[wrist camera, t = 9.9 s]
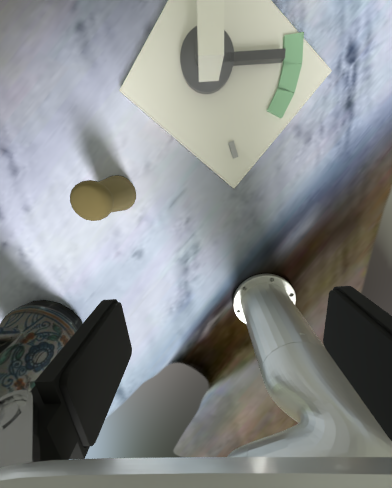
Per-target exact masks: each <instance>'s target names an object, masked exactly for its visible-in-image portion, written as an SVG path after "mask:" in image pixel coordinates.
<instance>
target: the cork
mask: <svg viewBox="0 0 392 488" xmlns="http://www.w3.org/2000/svg"><path fill="white" fill-rule="evenodd" d="M135 200H136V192H135V188H134V186H133V184H132V183H131V182H130V181H129V180H128V179H127V178H125V177H123V176H118V175H115V176H111V177H108V178H106V179H104V180H102V181H99V182H97V181H91V180H89V181H82V182H80V183H79V184H77V185H75V187H74V188H73V189H72V191H71V194H70V203H71V205H72V208H73V209H74V211H75V212H76V213H77V214H78V215H79V216H80V217H82V218H84V219H86V220H91V221H96V220H101V219H103V218H105V217H107V216H108V215H109V214H110V213H111V212H116V211H122V210H127V209H129V208H130V207H131V206H132V205H133V204H134V202H135Z"/></svg>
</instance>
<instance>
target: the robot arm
mask: <svg viewBox="0 0 392 488" xmlns="http://www.w3.org/2000/svg"><path fill="white" fill-rule="evenodd" d="M295 303H296V295H295V292H294V289H293V288H292V286H291V285H290V284H289V282H288V281H286V280H285V279H284V278H282V277H280V276H278V275H274V274H259V275H255V276H253V277H250V278H248V279H247V280H245V281H244V282H243V283H242V284H240V285H239V287H238V288H237V289H236V291H235V294H234V297H233V307H234V311H235V313H236V315H237V317H238V318H239V319H240V320H241V321H242V322H244V323H245V324H246V325H247V328H248V331H249V335H250V338H251V341H252V344H253V348H254V351H255V354H256V358H257V361H258V364H259V368H260V371H261V374H262V377H263V381H264V384H265V387H266V389H267V391H268V393H269V395H270V396H271V398H272V399H273V401H274V402H275V403H276V404H277V405H278V406H279V407H280V408H281V409H282V410H283V411H284V412H285V413H286V414H288V415H289V416H290V417H291V418H293V419H294V420H295V421H297V422H298V423H299V424H297V425H295V426H293V427H291V428H288V429H287V430H285V431H282V432H279V433H276V434H273V435H270V436H267V437H265V438H262V439H259V440H256V441H253V442H251V443H248V444H245V445H243V446H241V447H239V448H237V449H235V450H234V451H232V452H231V453H230V454H229V455H228V457H190V458H103V459H85V456H86V454H87V452H88V449H89V447H90V446H93V445H94V443H95V442H96V439H97V437H98V435H99V432H100V430H101V428H102V425H103V423H104V420H105V418H106V416H107V413H108V411H109V408H110V406H111V403H112V401H113V399H114V396H115V394H116V391H117V389H118V386H119V384H120V382H121V379H122V377H123V374H124V372H125V370H126V367H127V365H128V362H129V360H130V357H131V354H132V347H131V343H130V339H129V335H128V330H127V326H126V322H125V318H124V313H123V309H122V305H121V303H120V302H118V301H117V300H116V299H113V300H103V301H101V303H100V304H99V305H98V306H97V307H96V309H95V310H94V311H93V312H92V313H91V314H90V316H89V317H88V318H87V319H86V320H85V322H84V323H83V324H82V325H81V326H80V328H79V329H78V330H77V331H76V332H75V334H74V335H73V336H72V337H71V338H70V340H69V341H68V342H67V343H66V344H65V346H64V347H63V348H62V349H61V350H60V352H59V353H58V354H57V355H56V356H55V358H54V359H53V360H52V361H51V362H50V364H49V365H48V366H47V367H46V368H45V370H44V371H43V372H42V373H41V374H40V376H39V377H38V378H37V379H36V380H35V382H34V383H35V386H34V388H33V389H32V390H31V391H28V390H17V391H13V392H11V393H8V394H6V395H4V396H2V397H0V488H392V316H391V315H389V314H388V313H387V312H385V311H384V310H382V309H381V308H380V307H379V306H377V305H376V304H374V303H373V302H372V301H370V300H369V299H368V298H366V297H365V296H364V295H362V294H361V293H360V292H358V291H357V290H356V289H354V288H353V287H351V286H341V287H334V288H333V290H331V291H330V292H329V298H328V306H327V314H326V322H325V330H324V338H323V343H324V345H323V344H322V343H321V341H320V340H319V338H318V337H317V335H316V334H315V333H314V331H313V330H312V328H311V327H310V326H309V324H308V323H307V321H306V320H305V318H304V317H303V316H302V314H301V313H300V311H299V310H298V309H297V307H296V306H295ZM324 346H325V347H324ZM69 459H73V460H69Z"/></svg>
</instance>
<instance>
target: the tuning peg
mask: <svg viewBox="0 0 392 488" xmlns="http://www.w3.org/2000/svg"><path fill="white" fill-rule="evenodd" d="M196 9H197V26H195V27H194V28H193V29H192V30H191V31H190V32H189V33H188V34H187V36H186V37H185V39H184V41H183V44H182V47H181V52H180V63H181V69H182V73H183V76H184V79H185V81H186V82H187V84H188V85H189V86H190V87H191V88H192V89H193V90H194V91H196V92H198V93H201V94H212V93H215V92H217V91H218V90H220V89H221V88H222V87H223V86H224V85H225V84H226V82H227V81H228V79H229V77H230V74H231V71H232V68H233V66H238V65H254V64H271V63H282V61H283V60H284V59H285V51H286V48H284V49H268V50H252V51H236V52H234V48H233V44H232V41H231V39H230V37H229V35H228V34H227V32H226V31H225V30H224V0H196Z"/></svg>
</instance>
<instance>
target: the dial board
mask: <svg viewBox="0 0 392 488" xmlns="http://www.w3.org/2000/svg"><path fill="white" fill-rule="evenodd" d="M195 26H197V9H196V0H168V2H167V3H166V5H165V7H164V9H163V11H162V13H161V14H160V16H159V18H158V20H157V22H156V24H155V26H154V27H153V29H152V31H151V33H150V35H149V37H148V38H147V40H146V42H145V44H144V46H143V48H142V50H141V51H140V53H139V55H138V57H137V59H136V61H135V62H134V64H133V66H132V68H131V70H130V72H129V74H128V75H127V77H126V79H125V81H124V83H123V85H122V86H121V88H120V90H119V91H120V92H121V93H122V94H123V95H124V96H126V97H127V98H128V99H129V100H130V101H131V102H133V103H134V104H135V105H136V106H137V107H138V108H140V109H141V110H142V111H143V112H144V113H145V114H147V115H148V116H149V117H150V118H151V119H152V120H154V121H155V122H156V123H157V124H158V125H159V126H161V127H162V128H163V129H164V130H165V131H167V132H168V133H169V134H170V135H171V136H172V137H174V138H175V139H176V140H177V141H178V142H179V143H181V144H182V145H183V146H184V147H185V148H186V149H188V150H189V151H190V152H191V153H192V154H193V155H195V156H196V157H197V158H198V159H199V160H200V161H202V162H203V163H204V164H205V165H206V166H207V167H209V168H210V169H211V170H212V171H213V172H214V173H216V174H217V175H218V176H219V177H220V178H222V179H223V180H224V181H225V182H226V183H227V184H229V185H230V186H231V187H232V188H233V189H234V188H235V187H236V186H237V185H238V184H239V182H240V181H241V180H242V179H243V178H244V176H245V175H246V174H247V173H248V172H249V170H250V169H251V168H252V167H253V165H254V164H255V163H256V162H257V161H258V159H259V158H260V157H261V156H262V155H263V153H264V152H265V151H266V150H267V149H268V147H269V146H270V145H271V144H272V143H273V141H274V140H275V139H276V138H277V136H278V135H279V134H280V133H281V132H282V130H283V129H284V128H285V127H286V126H287V124H288V123H289V122H290V121H291V120H292V118H293V117H294V116H295V115H296V114H297V112H298V111H299V110H300V109H301V107H302V106H303V105H304V104H305V103H306V101H307V100H308V99H309V98H310V97H311V95H312V94H313V93H314V92H315V91H316V89H317V88H318V87H319V86H320V85H321V83H322V82H323V81H324V80H325V78H326V77H327V76H328V75H329V74H330V72H331V71H332V70H331V69H330V68H329V67H328V66H327V65H326V63H325V62H324V61H323V60H322V59H321V58H320V56H319V55H318V54H317V53H316V52H315V51H314V50H313V48H312V47H311V46H310V45H309V44H308V43H307V41H306V40H305V39H304V32H301V33H299V32H298V31H297V30H296V29H295V28H294V26H293V25H292V24H291V23H290V22H289V21H288V19H287V18H286V17H285V16H284V15H283V14H282V12H281V11H280V10H279V9H278V8H277V7H276V6H275V4H274V3H273V2H272V1H271V0H224V30H225V31H226V32H227V34H228V35H229V37H230V39H231V41H232V44H233V48H234V52H236V51H252V50H268V49H284V48H286V51H285V59H284V60H283V61H282V63H271V64H254V65H238V66H233V68H232V71H231V74H230V77H229V79H228V81H227V82H226V84H225V85H224V86H223V87H222V88H221V89H220V90H218V91H217V92H215V93H212V94H201V93H198V92H196V91H194V90H193V89H192V88H191V87H190V86H189V85H188V84H187V82H186V81H185V79H184V76H183V73H182V69H181V63H180V52H181V47H182V44H183V41H184V39H185V37H186V36H187V34H188V33H189V32H190V31H191V30H192V29H193V28H194V27H195Z"/></svg>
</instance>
